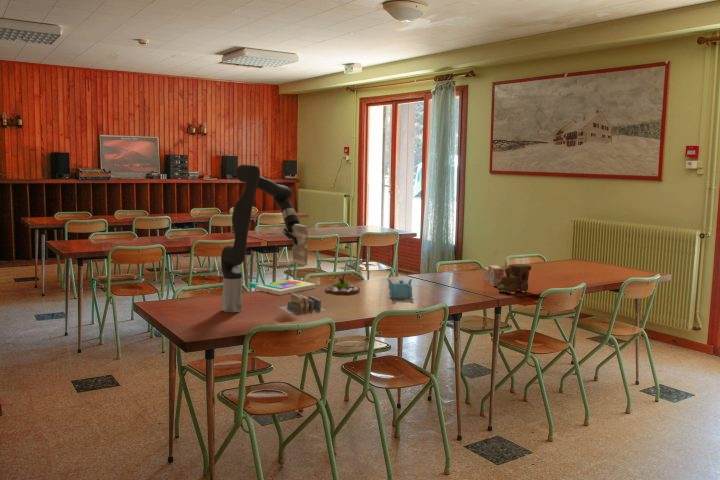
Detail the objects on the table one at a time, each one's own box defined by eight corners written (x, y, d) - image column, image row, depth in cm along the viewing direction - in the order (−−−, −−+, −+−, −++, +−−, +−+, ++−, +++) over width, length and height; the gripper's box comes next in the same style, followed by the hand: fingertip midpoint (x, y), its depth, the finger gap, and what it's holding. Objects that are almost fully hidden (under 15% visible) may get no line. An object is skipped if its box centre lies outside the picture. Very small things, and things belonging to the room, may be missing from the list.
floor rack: (290, 316, 325) (290, 304, 324) (277, 309, 338) (278, 297, 338) (326, 313, 334) (326, 300, 333) (312, 306, 348) (313, 294, 347)
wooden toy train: (516, 289, 412) (518, 263, 410) (531, 292, 403) (532, 265, 400) (494, 292, 400) (496, 265, 398) (508, 295, 391) (510, 268, 389)
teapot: (414, 300, 369) (415, 283, 368) (388, 300, 369) (388, 282, 368) (411, 295, 384) (412, 278, 383) (386, 294, 383) (386, 277, 382)
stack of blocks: (482, 280, 437) (483, 262, 435) (491, 281, 437) (492, 262, 436) (493, 287, 416) (494, 268, 414) (502, 287, 416) (504, 268, 415)
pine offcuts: (300, 311, 329) (300, 298, 328) (290, 306, 340) (291, 293, 339) (308, 310, 332) (309, 297, 331) (299, 305, 342) (299, 292, 341)
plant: (352, 296, 377) (353, 277, 375) (321, 293, 383) (321, 274, 382) (363, 290, 396) (364, 272, 394) (333, 287, 402) (333, 269, 400)
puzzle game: (315, 288, 397) (281, 281, 415) (315, 284, 396) (281, 277, 415) (279, 296, 374) (245, 288, 392) (279, 291, 373) (245, 283, 392)
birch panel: (302, 265, 335) (303, 226, 332) (293, 261, 345) (294, 224, 343) (307, 265, 336) (307, 226, 334) (297, 261, 346) (298, 223, 344)
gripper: (280, 214, 344) (289, 240, 335) (304, 213, 350) (313, 239, 341) (276, 223, 349) (285, 249, 340) (300, 222, 356) (309, 247, 347)
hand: (299, 244), depth 341 cm, fingers closed on birch panel, 2 cm apart
